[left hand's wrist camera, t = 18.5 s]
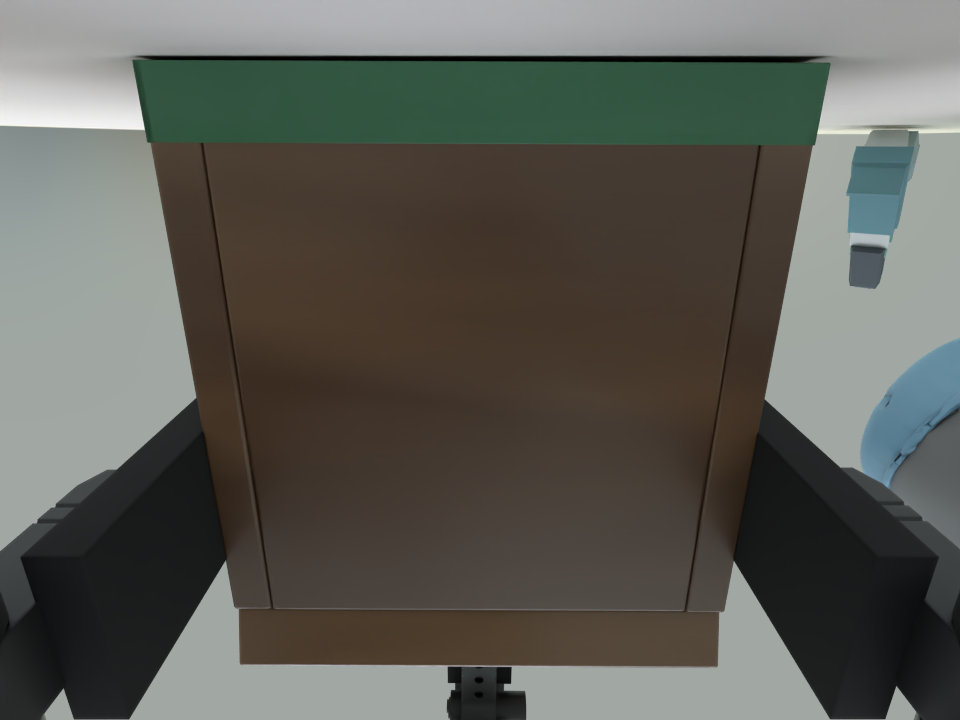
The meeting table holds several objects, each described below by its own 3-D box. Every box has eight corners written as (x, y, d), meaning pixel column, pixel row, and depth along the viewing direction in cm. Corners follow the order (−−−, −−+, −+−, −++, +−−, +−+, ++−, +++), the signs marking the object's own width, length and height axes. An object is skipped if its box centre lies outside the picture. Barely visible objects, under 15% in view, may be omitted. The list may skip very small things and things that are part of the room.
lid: (577, 443, 29) (576, 608, 29) (381, 442, 29) (382, 607, 29) (720, 609, 12) (710, 1002, 12) (236, 607, 12) (244, 1000, 12)
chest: (603, 114, 23) (586, 345, 27) (359, 113, 23) (374, 344, 27) (831, 62, 8) (725, 613, 11) (131, 59, 8) (231, 611, 11)
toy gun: (863, 201, 58) (838, 294, 57) (875, 67, 42) (841, 191, 41) (907, 203, 56) (883, 299, 55) (938, 63, 40) (904, 193, 39)
